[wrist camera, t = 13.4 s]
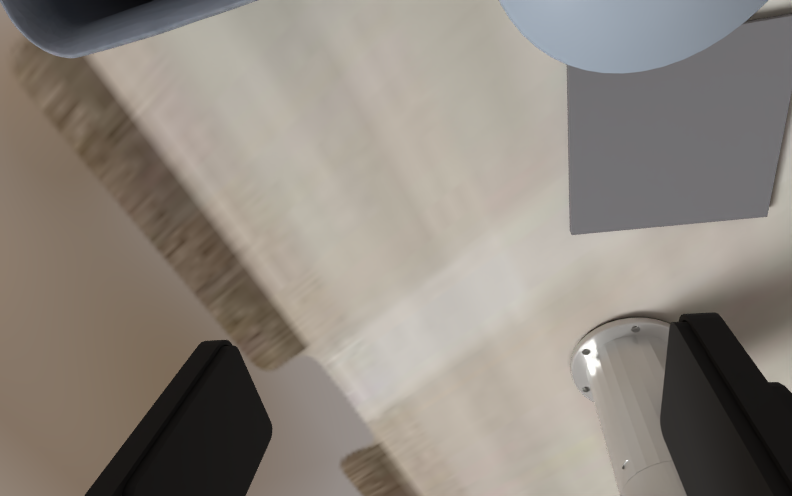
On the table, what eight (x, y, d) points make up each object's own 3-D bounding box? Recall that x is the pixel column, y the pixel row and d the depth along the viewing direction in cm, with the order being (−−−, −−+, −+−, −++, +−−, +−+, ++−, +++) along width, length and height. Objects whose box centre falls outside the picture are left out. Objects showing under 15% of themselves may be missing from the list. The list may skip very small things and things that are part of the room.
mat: (761, 211, 41) (767, 216, 41) (569, 230, 45) (571, 234, 44) (799, 12, 34) (807, 13, 33) (566, 52, 38) (568, 54, 37)
